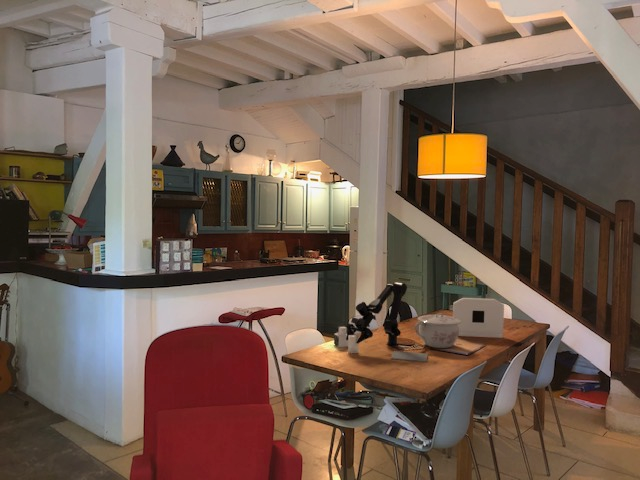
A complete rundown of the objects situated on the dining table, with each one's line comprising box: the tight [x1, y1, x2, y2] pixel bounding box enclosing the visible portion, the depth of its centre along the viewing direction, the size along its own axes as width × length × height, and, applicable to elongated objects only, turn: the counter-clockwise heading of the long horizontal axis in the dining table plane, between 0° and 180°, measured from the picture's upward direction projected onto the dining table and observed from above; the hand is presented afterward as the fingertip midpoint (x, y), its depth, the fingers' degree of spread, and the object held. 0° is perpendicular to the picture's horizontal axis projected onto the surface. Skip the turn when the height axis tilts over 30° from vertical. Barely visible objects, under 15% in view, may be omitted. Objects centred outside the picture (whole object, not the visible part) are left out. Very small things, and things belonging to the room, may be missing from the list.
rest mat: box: [390, 350, 429, 363], centre depth 304 cm, size 16×20×1 cm
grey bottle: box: [333, 325, 348, 348], centre depth 326 cm, size 7×7×12 cm
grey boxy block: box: [452, 297, 505, 339], centre depth 369 cm, size 33×24×26 cm
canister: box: [347, 334, 360, 354], centre depth 311 cm, size 6×6×10 cm
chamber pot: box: [414, 312, 462, 349], centre depth 331 cm, size 28×28×21 cm
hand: (351, 341), depth 310 cm, fingers open, 9 cm apart
